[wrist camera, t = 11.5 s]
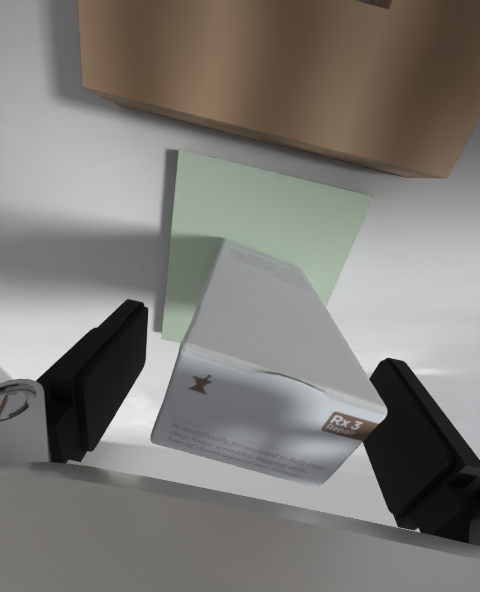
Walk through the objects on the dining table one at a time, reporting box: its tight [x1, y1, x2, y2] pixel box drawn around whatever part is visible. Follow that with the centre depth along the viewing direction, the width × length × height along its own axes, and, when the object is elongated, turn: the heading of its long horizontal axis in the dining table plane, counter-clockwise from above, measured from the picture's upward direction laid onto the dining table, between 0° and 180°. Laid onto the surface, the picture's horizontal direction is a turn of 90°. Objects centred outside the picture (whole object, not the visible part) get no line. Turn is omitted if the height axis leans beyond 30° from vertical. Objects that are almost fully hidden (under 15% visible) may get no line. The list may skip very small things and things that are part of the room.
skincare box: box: [151, 239, 387, 488], centre depth 12 cm, size 6×4×12 cm
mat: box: [161, 149, 373, 343], centre depth 18 cm, size 12×14×1 cm
